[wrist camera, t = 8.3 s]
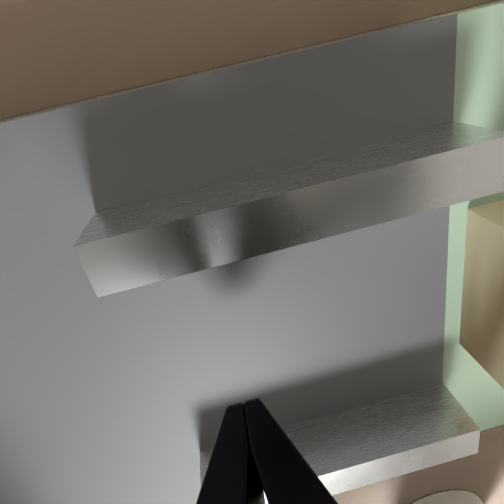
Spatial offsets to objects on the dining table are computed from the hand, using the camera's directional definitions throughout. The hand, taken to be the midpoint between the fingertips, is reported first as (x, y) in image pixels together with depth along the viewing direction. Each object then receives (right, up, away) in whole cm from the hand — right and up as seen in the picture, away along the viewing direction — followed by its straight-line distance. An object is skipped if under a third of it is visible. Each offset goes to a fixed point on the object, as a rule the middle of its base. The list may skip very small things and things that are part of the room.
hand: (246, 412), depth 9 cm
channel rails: (+2, +2, +2) cm, 3 cm away
